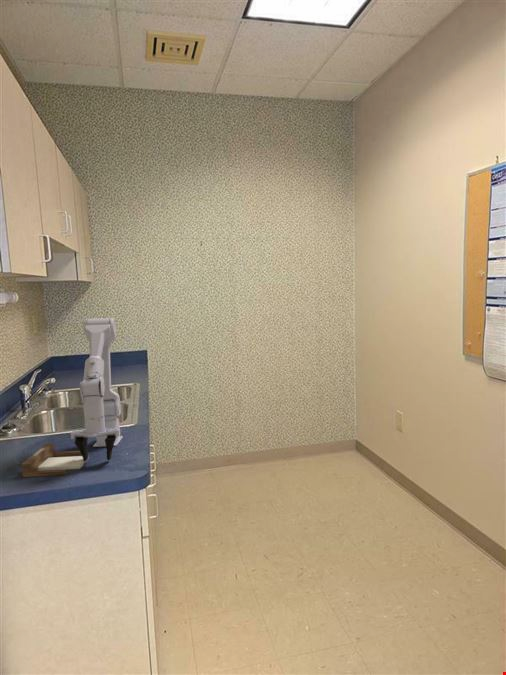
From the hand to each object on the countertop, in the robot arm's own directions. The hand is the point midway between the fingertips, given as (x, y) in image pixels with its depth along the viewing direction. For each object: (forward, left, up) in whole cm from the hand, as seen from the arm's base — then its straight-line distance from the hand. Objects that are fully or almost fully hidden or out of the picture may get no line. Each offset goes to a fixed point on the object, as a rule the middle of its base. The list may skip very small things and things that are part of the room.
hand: (97, 459), depth 135 cm
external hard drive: (0, -10, -2) cm, 10 cm away
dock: (0, -13, -1) cm, 13 cm away
